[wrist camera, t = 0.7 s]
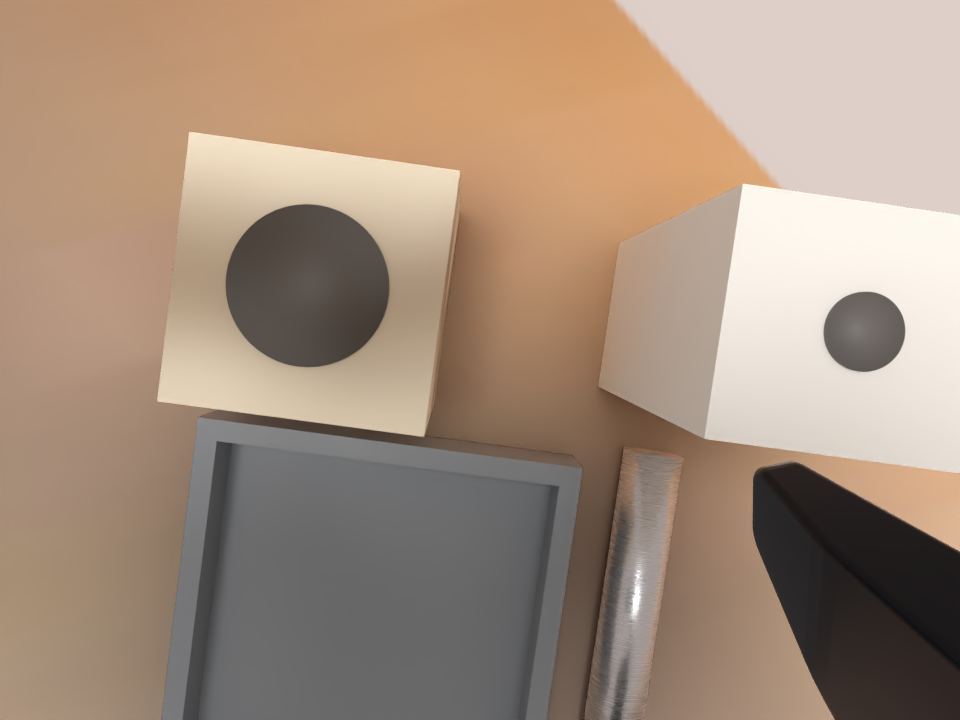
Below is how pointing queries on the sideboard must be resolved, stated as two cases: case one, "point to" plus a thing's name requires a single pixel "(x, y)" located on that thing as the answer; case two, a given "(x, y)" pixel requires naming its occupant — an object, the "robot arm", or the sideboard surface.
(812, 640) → the robot arm
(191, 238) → the birch block
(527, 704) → the tray
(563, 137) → the sideboard surface
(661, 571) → the cylinder
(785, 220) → the cream block
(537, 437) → the sideboard surface
